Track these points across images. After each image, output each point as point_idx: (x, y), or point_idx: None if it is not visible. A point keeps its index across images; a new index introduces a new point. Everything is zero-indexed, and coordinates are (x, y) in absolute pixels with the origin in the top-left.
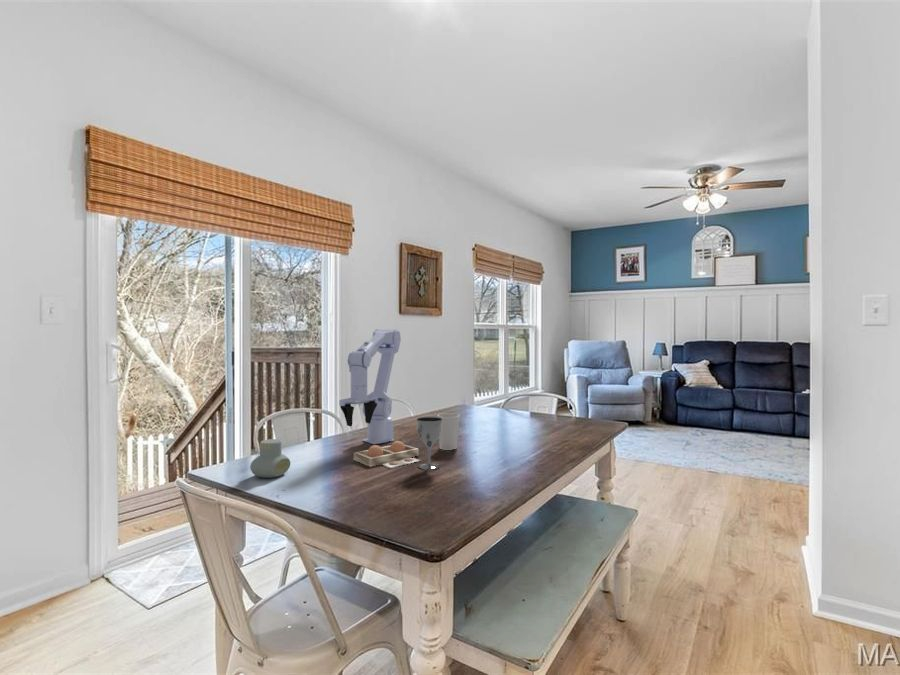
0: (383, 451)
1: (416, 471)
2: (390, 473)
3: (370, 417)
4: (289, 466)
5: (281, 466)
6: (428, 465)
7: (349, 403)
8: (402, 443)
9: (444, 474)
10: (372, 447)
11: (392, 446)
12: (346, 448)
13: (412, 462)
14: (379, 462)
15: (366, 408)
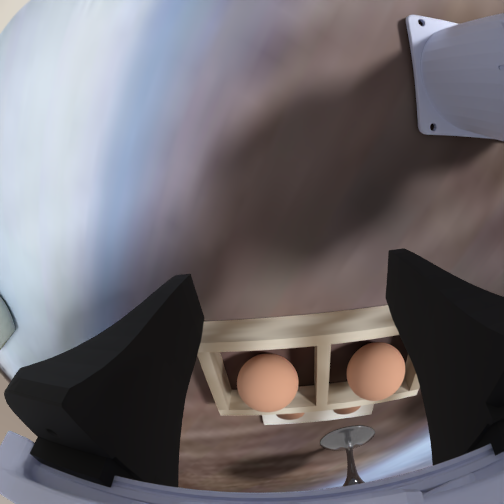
0: (316, 367)
1: (302, 446)
2: (244, 437)
3: (409, 342)
4: (13, 331)
5: (2, 346)
6: (340, 447)
7: (119, 500)
8: (387, 397)
9: (331, 464)
10: (250, 405)
11: (351, 386)
12: (251, 105)
13: (341, 417)
14: None
15: (455, 357)
